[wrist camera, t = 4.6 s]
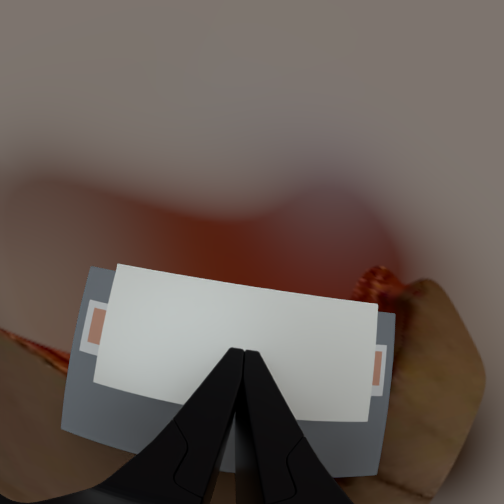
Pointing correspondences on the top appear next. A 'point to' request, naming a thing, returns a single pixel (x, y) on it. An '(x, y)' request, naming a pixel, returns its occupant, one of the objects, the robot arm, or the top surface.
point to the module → (237, 341)
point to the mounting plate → (161, 412)
